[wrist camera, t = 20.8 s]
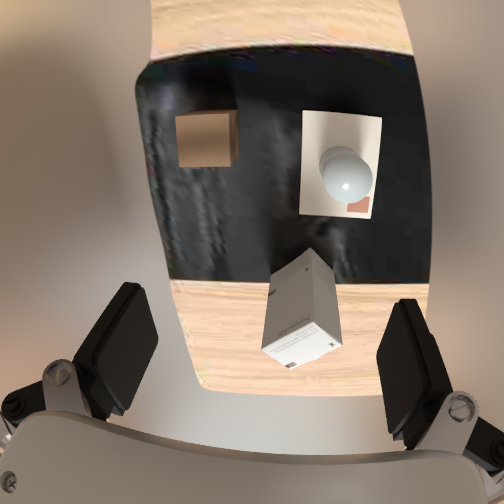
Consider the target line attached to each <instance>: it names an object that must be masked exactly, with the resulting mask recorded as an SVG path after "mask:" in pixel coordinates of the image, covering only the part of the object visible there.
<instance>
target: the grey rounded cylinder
mask: <svg viewBox="0 0 504 504" xmlns="http://www.w3.org/2000/svg"><path fill="white" fill-rule="evenodd" d="M319 170H320V174H321V176H322V179H323V181H324V184H325V187H326V189H327V191H328V193H329V194H330V195H331V197H333V198H334V199H335V200H337V201H339V202H342V203H355V202H358V201H360V200H362V199H363V198H364V197H365V196H366V195H367V194H368V193H369V191H370V190H371V187H372V183H373V175H372V171H371V169H370V167H369V166H368V164H367V163H366V162H365V161H364V160H363V159H362V158H361V157H360V156H359V155H357V154H356V153H355V152H354V151H353V150H352V149H350V148H348V147H345V146H335V147H332V148H330V149H328V150H327V151H326V152H325V153H324V154H323V155H322V157H321V159H320V163H319Z"/></svg>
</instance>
